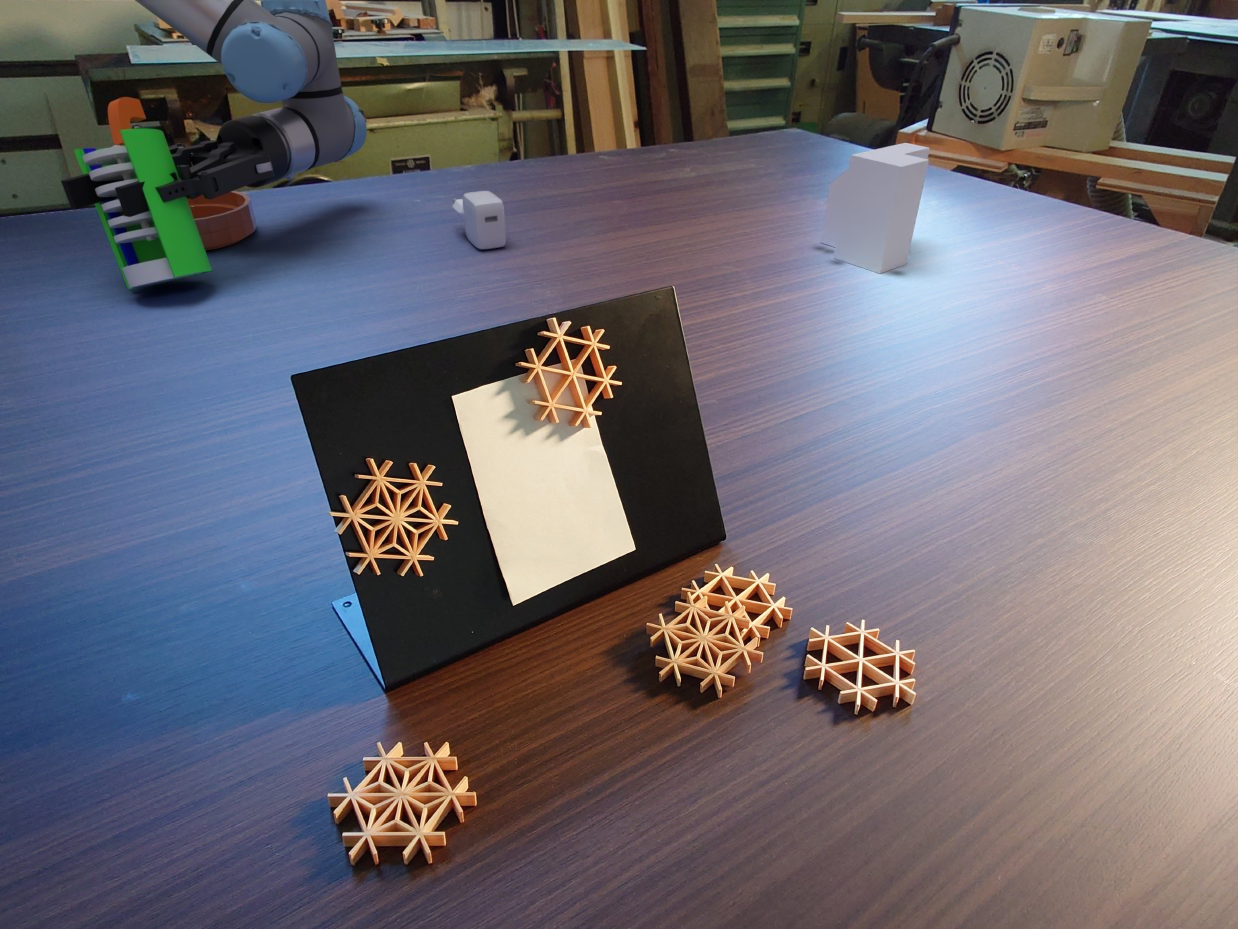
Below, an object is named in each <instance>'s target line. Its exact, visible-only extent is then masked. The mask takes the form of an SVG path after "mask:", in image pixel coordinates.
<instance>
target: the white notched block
mask: <svg viewBox="0 0 1238 929" xmlns="http://www.w3.org/2000/svg"><path fill="white" fill-rule="evenodd" d="M930 149H931V148H930V147H928V146H923V145H918V144H913V143H909V142H903V143H898V144H894V145H888V146H885V147H880V148H876V149H871V150H866V151H863V152H862V151H861V152H856V153H853V154H850V158H849V164H848V167H847V169H845V170H844V171H843V172H842V173H841V174H839V175H838V176H837V177H836V178H835V179H833V180H832V181H831V182H830V183H829V186H828V191H827V192H828V193H827V199H826V206H825V212H824V218H823V223H822V231H821V237H820V243H821V244H824V245H826V246H830V247H833V248H834V252H833V259H835V260H838V261H841V262H844V263H847V264H850V265H853V266H857V267H859V268H861V269H865V270H868V271H870V272H874V273H877V274H883V273H885V272H889V271H891V270H893V269H897V268H900V267H902V266H905V265H907V264H908V257H909V255H910V249H911V245H912V239H913V237H914V231H915V226H916V222H917V216H918V213H919V212H918V211H919V209H920V204H921V199H922V195H923V190H924V185H925V181H926V177H927V172H928V167H929V163H930V159H929V155H930V151H931V150H930Z"/></svg>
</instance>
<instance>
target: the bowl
mask: <svg viewBox="0 0 1238 929" xmlns="http://www.w3.org/2000/svg"><path fill="white" fill-rule="evenodd" d="M187 201H188V204H189V206H190V209H191V212H192V215H193V218H194V220H195V223H196V226H197V229H198V232H199V234H200V237H201V240H202V243H203V246H204V249H205V251H206V252H207V251H212V250H216V249H221V248H225V247H227V246H232V245H234V244H236V243H238V242H241V241H243V240H244V239H246V238H248V236H250V235H252V234H253V233H254V232H255V230H256V228H257V227H258V226H257V225H258V224H257V220H256V216H255V212H254V207H253V204H252V199H251V198H250V197H249V196H248V195H247V194H245V193H243V192H240V191H237V190H234V191H231V192H229V193H226V194H224V195H221V196H219V197H216V198H214V199H205V198H204V195H201V196H199V197H198V198H195V199H189V198H187Z"/></svg>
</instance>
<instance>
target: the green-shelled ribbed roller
mask: <svg viewBox="0 0 1238 929" xmlns="http://www.w3.org/2000/svg"><path fill="white" fill-rule="evenodd" d="M107 118H108V123H109V124H108V125H109V130H110V133H111V138H112V141H113V145H111V146H110V147H109V146H108V147H100V148H99V147H98V148H96V147H93V148H92V147H89V148H88V147H85V148H76V149H73V152H74V155H75V158H76V160H77V162H78V164H79V165H78V166H79V167H80V170H81V173H82V175H84V174H87V173H89V175H90V178H91V180H92V181H110V180H122V179H124V181H119V182H115V183H110V184H106V185H103V186H100V187H97V188H96V189H95V191H96V193H97V196H99V197H114V196H117V193H116V190H115V188H116V187H119V186H123V185H126V184H130V183H133V182H136V181H139V182H144V181H145V183H144V186H143V192H144V195H145V199H146V202H147V205H148V209H149V211H147V212H144V213H141V214H138V215H135V216H132V217H126V216H124V213H123V210H122V207H121V204H120V201H119V199H118V197H115V198H112V199H109V200H105V201H102V202H99V203H95V204H94V206H95V208H96V212H97V213H98V216H99V219H100V221H101V225H102V227H103V229H104V232H105V235H106V237H107V239H108V242H109V245H110V248H111V250H112V252H113V254H114V257H115V261H116V262H117V265H118V268H119V270H120V273H121V276H122V278H123V281H124V283H125V286H126V288H127V290H132V289H137V288H141V287H148V286H152V285H157V284H163V283H167V282H172V281H177V280H181V279H185V278H190V277H195V276H199V275H202V274H207V273H210V272H213V268H212V265H211V263H210V260H209V257H208V255H207V250H206V251H205V249H204V246H203V243H202V240H201V237H200V234H199V232H198V229H197V226H196V223H195V220H194V218H193V215H192V212H191V209H190V206H189V204H188V201H187V198H186V196H184V197H181V198H177V199H175V200H172V201H168V202H163V201H162V199H161V197H160V195H159V193H158V192H157V190H156V188H155V187H158V186H162V185H165V184H168V183H170V182H172V181H174V179H173V178H172V176H171V175H170V174H171V173H172V172H176V175H177V179H180V178H179V175H178V173H177V170H176V167H175V164H174V161H173V159H172V156H171V153H170V150H169V147H170V146H169V145H168V142H167V139H166V136H165V133H164V131H163V130H161V129H158V128H132V126H131V123H139V122H141V121H143V120H146V119H147V117H146V114H145V112H144V108H143V106H142V103H141V100H140V99H139V98H134V97H129V96H122V97H119V98H117V99H115V100H112V101H110V102H109V104H108V106H107Z"/></svg>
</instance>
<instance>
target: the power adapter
mask: <svg viewBox="0 0 1238 929" xmlns="http://www.w3.org/2000/svg"><path fill="white" fill-rule="evenodd" d="M452 203H453V204H452V209H453V210H454V212H455V213H456V214H457V215H458V216H459V217H460V218H461V219H463V222H464V223H463V224H464V233H465V236H466V238H467V240H468V241H469V242H470V243H471V244H472V245H473V246H474V247H475V248H477V249H478V250H491V249H496V248H502V247H505V246H506V243H507V228H506V227H507V226H506V212H505V205H504V202H503V200H502V199H501V198H500V197H498V196H497V195H496V194H495V193H493V192H492V191H489V190H478V191H471V192H465V193H464V194H463V195H462V197H461V198H456V197H454V198H453V199H452Z"/></svg>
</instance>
